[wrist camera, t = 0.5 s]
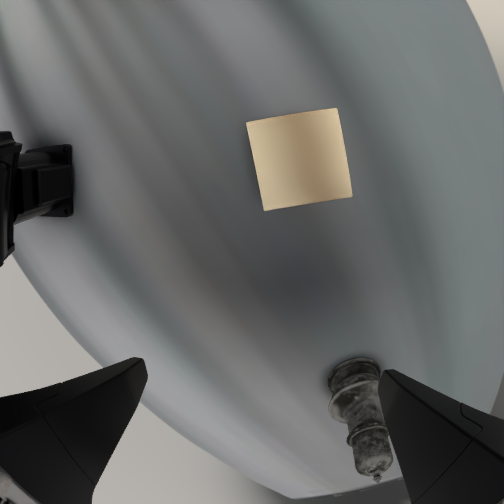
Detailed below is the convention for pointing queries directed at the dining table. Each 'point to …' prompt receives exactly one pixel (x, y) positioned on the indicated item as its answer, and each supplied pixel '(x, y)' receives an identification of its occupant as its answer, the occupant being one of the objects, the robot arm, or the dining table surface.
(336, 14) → the dining table surface
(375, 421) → the grey tall rounded piece
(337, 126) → the maple block
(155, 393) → the dining table surface
